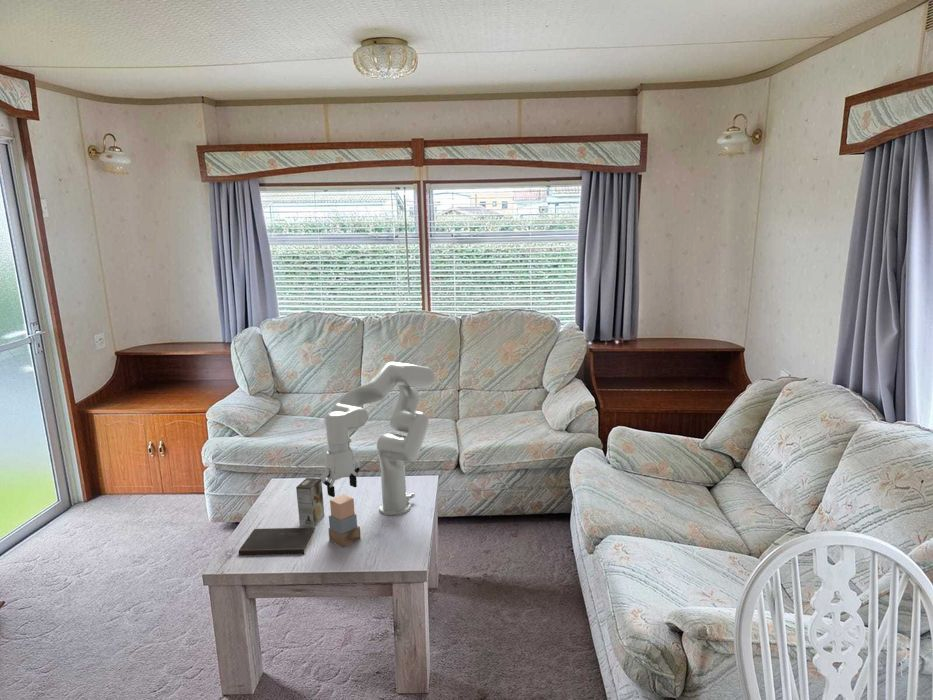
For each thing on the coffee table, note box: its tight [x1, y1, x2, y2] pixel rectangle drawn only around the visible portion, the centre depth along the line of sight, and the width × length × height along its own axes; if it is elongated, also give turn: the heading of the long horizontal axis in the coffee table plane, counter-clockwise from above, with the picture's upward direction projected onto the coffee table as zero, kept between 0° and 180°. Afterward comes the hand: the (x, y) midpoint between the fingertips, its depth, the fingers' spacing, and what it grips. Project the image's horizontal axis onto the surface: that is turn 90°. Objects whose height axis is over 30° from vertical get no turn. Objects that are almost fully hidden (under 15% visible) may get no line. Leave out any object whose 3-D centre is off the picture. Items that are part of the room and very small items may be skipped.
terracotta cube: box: [329, 493, 356, 520], centre depth 214 cm, size 6×6×6 cm
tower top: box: [328, 513, 358, 535], centre depth 215 cm, size 7×7×5 cm
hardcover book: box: [238, 527, 316, 557], centre depth 215 cm, size 16×23×2 cm
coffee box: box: [295, 477, 325, 528], centre depth 230 cm, size 9×6×16 cm
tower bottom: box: [328, 525, 362, 548], centre depth 216 cm, size 8×8×5 cm
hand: (342, 491), depth 214 cm, fingers open, 9 cm apart
